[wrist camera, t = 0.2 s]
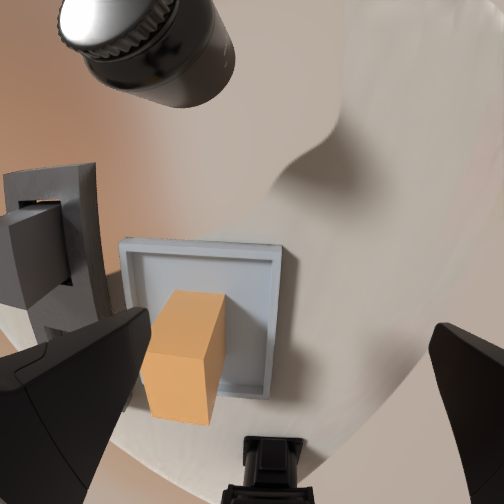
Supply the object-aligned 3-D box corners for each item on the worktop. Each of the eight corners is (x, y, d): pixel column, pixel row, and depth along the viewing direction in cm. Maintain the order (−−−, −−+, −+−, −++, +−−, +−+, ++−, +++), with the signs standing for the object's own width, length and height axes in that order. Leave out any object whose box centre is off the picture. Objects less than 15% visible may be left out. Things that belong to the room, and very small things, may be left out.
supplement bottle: (257, 59, 18) (236, -27, 7) (189, 128, 20) (97, 117, 9) (189, 7, 17) (121, -80, 6) (127, 73, 19) (16, 37, 8)
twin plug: (82, 267, 25) (26, 310, 17) (50, 264, 25) (-5, 301, 17) (73, 200, 23) (8, 226, 15) (41, 201, 23) (-23, 225, 15)
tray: (269, 388, 27) (269, 399, 26) (147, 374, 28) (142, 384, 27) (281, 245, 23) (281, 252, 21) (126, 237, 23) (117, 242, 22)
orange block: (225, 355, 26) (209, 426, 18) (180, 350, 26) (152, 416, 19) (225, 294, 24) (203, 359, 16) (174, 289, 24) (136, 350, 17)
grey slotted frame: (132, 397, 29) (124, 412, 27) (67, 379, 30) (57, 392, 28) (95, 162, 21) (77, 165, 19) (21, 170, 22) (3, 174, 20)
